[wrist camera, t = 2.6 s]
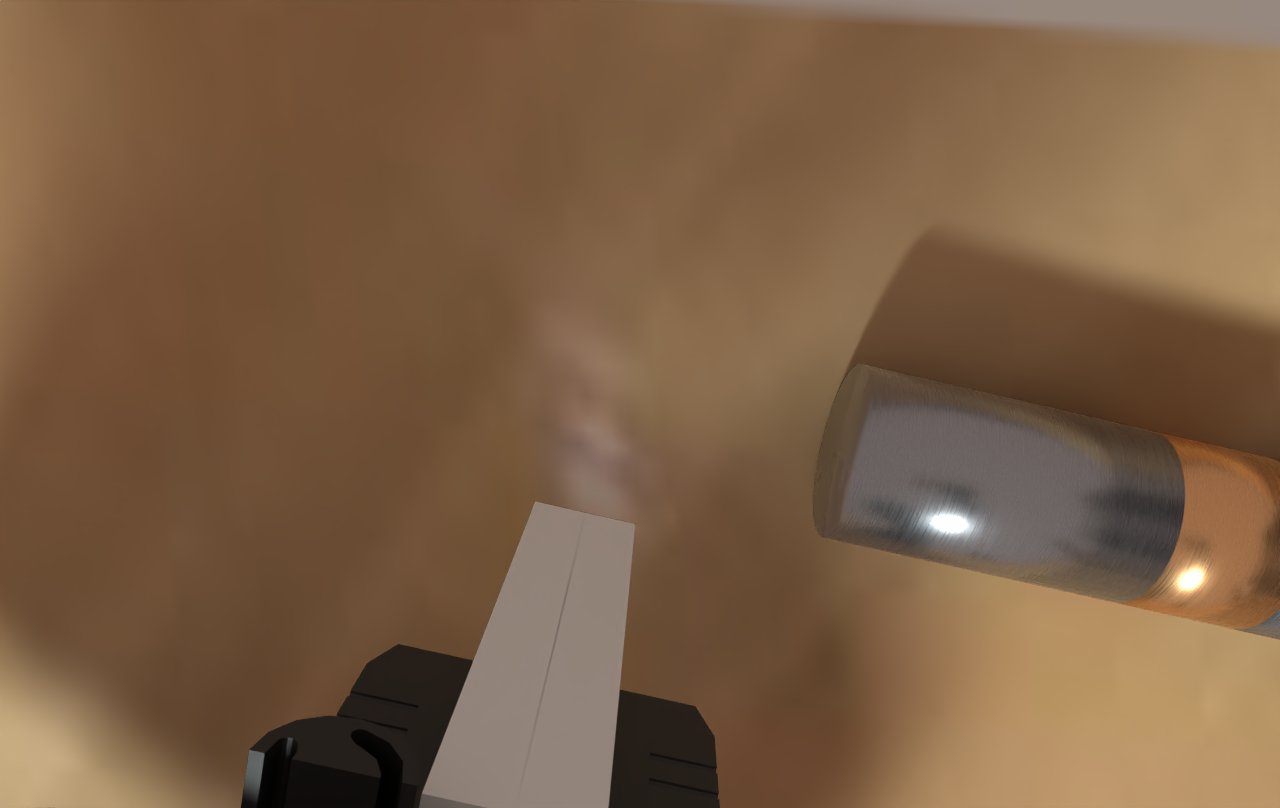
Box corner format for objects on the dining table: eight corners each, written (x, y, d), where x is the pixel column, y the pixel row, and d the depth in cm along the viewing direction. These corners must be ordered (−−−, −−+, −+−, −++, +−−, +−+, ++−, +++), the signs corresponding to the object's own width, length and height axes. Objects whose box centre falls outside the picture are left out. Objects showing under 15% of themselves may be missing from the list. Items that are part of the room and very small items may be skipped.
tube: (802, 534, 26) (848, 539, 21) (834, 377, 26) (883, 349, 22) (1437, 677, 26) (1607, 710, 22) (1455, 519, 27) (1624, 521, 22)
